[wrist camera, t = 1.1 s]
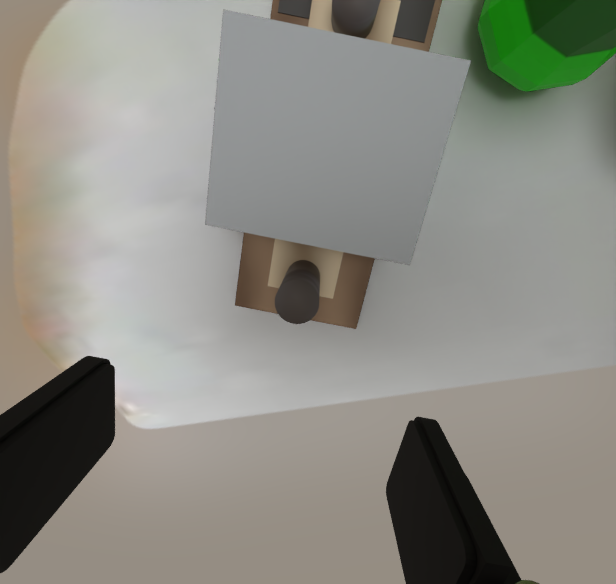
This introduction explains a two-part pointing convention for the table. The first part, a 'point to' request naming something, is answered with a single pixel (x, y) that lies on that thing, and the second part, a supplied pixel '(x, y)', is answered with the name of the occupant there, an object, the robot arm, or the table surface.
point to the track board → (354, 268)
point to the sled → (304, 258)
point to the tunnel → (327, 136)
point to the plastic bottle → (547, 40)
